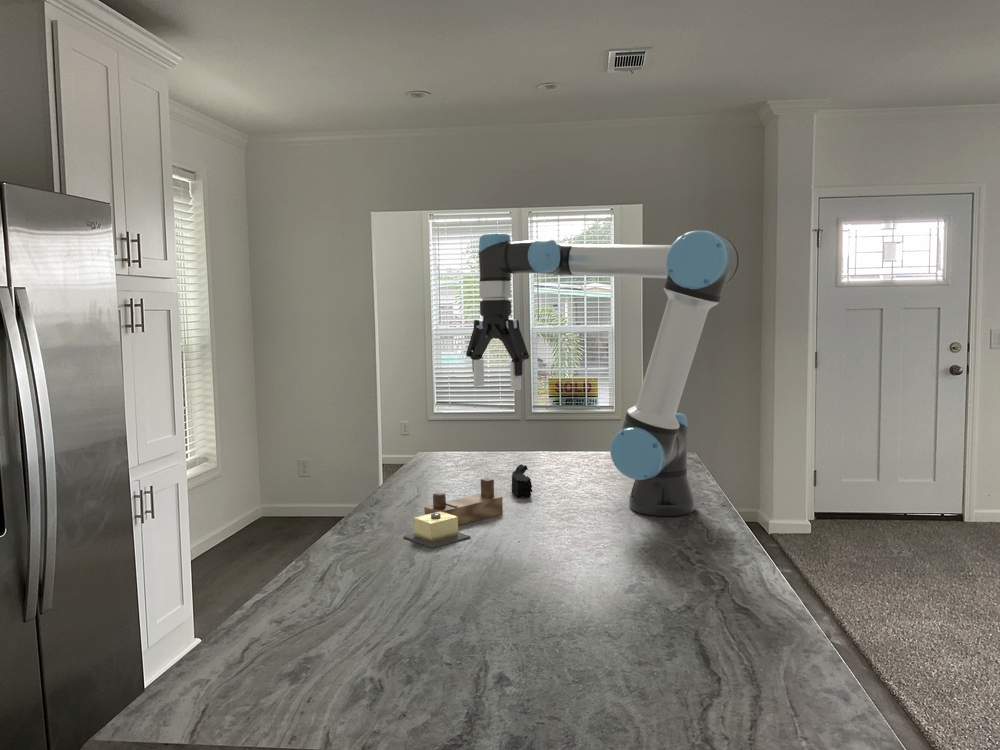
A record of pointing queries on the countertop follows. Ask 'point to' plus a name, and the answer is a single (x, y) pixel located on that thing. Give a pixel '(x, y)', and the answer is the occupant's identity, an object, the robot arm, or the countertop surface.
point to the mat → (437, 543)
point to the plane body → (469, 504)
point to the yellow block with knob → (435, 526)
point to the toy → (521, 482)
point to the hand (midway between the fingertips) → (497, 387)
